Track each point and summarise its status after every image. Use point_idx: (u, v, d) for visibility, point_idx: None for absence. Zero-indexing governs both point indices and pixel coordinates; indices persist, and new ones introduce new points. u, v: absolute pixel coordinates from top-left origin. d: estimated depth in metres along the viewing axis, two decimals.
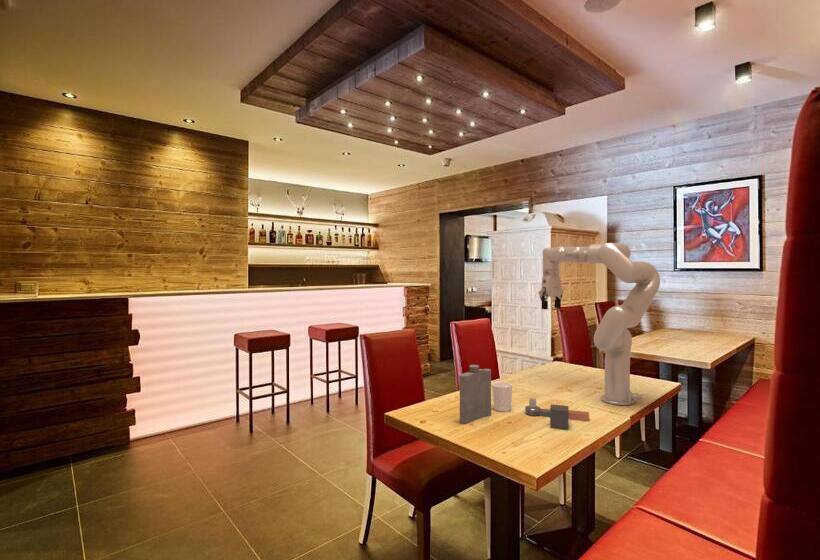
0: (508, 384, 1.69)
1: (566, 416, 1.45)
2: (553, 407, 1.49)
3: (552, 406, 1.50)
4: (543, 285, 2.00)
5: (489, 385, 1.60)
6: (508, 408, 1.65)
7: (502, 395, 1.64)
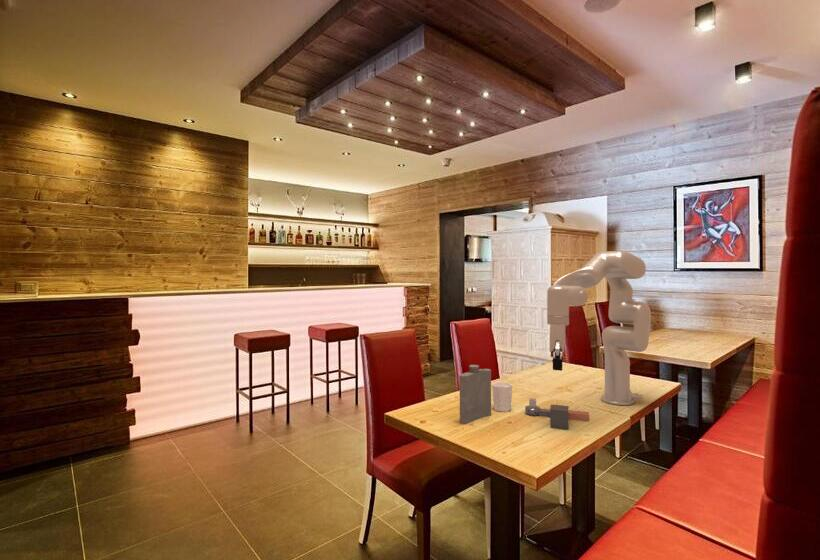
0: (508, 384, 1.69)
1: (566, 416, 1.45)
2: (553, 407, 1.49)
3: (552, 406, 1.50)
4: None
5: (489, 385, 1.60)
6: (508, 408, 1.65)
7: (502, 395, 1.64)
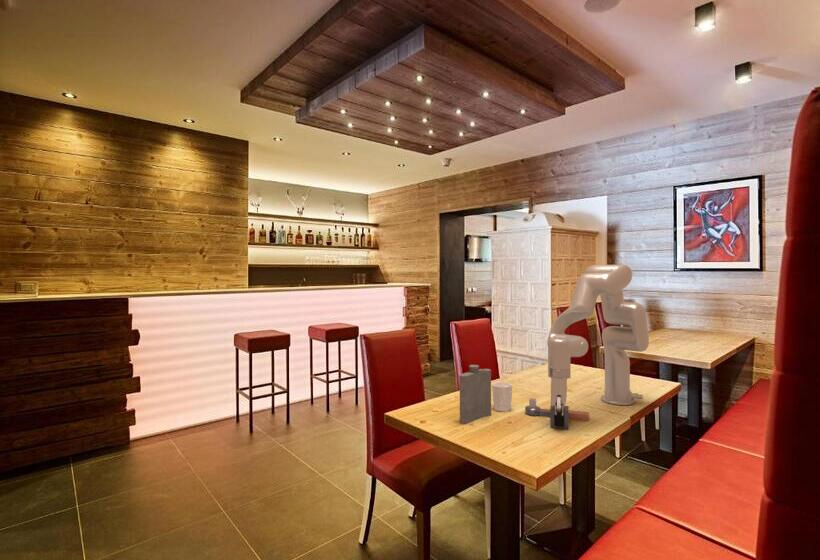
0: (508, 384, 1.69)
1: (566, 416, 1.45)
2: (553, 407, 1.49)
3: (552, 406, 1.50)
4: None
5: (489, 385, 1.60)
6: (508, 408, 1.65)
7: (502, 395, 1.64)
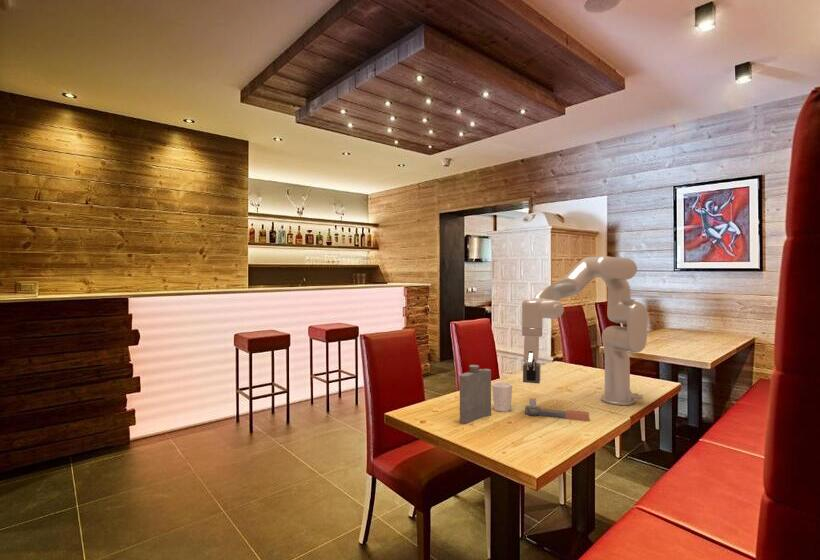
0: (508, 384, 1.69)
1: (537, 371, 1.57)
2: (526, 364, 1.62)
3: (525, 363, 1.63)
4: None
5: (489, 385, 1.60)
6: (508, 408, 1.65)
7: (502, 395, 1.64)
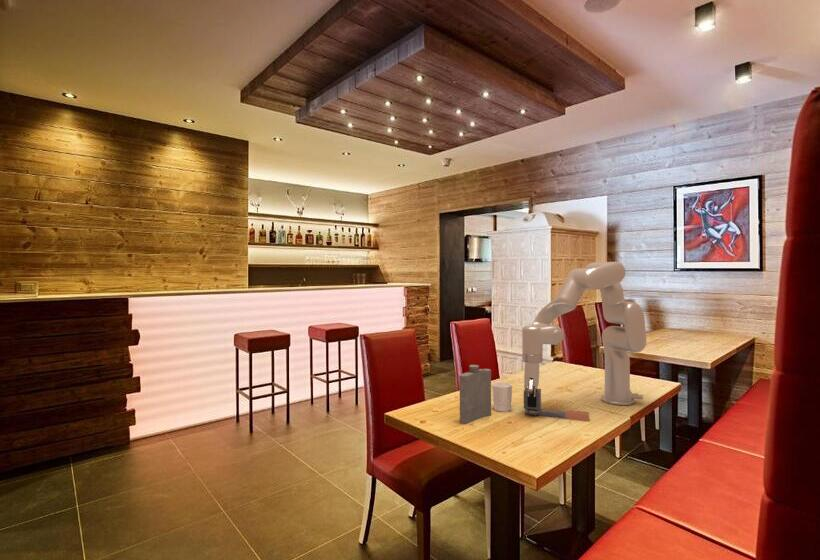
0: (508, 384, 1.69)
1: (538, 397, 1.58)
2: (526, 389, 1.62)
3: (526, 389, 1.63)
4: None
5: (489, 385, 1.60)
6: (508, 408, 1.65)
7: (502, 395, 1.64)
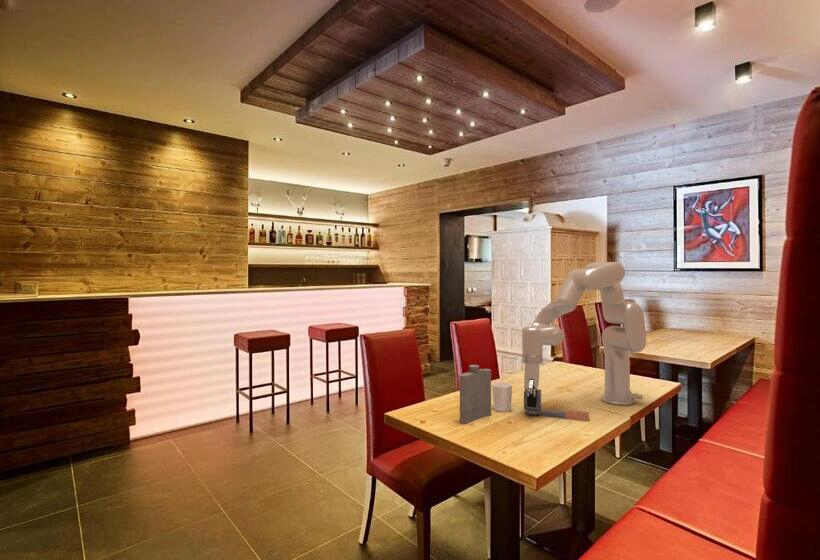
0: (508, 384, 1.69)
1: (538, 398, 1.58)
2: (526, 390, 1.62)
3: (526, 389, 1.63)
4: None
5: (489, 385, 1.60)
6: (508, 408, 1.65)
7: (502, 395, 1.64)
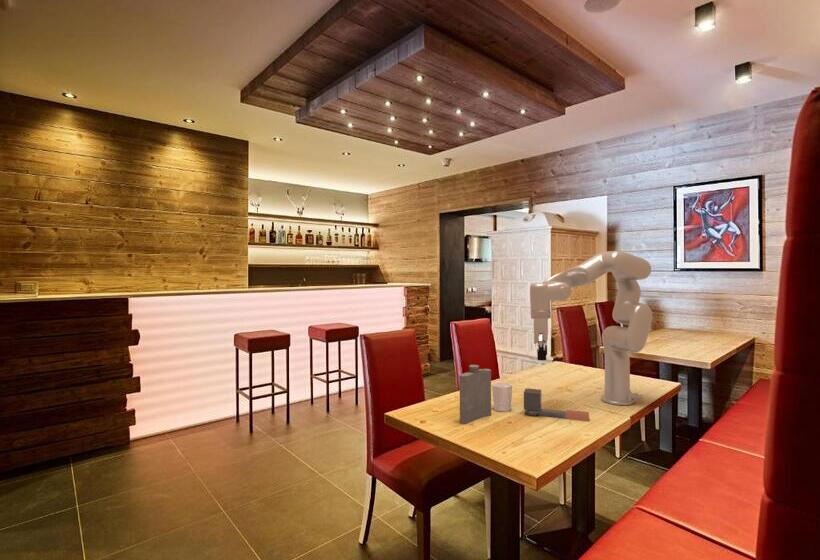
0: (508, 384, 1.69)
1: (538, 398, 1.58)
2: (526, 390, 1.62)
3: (526, 389, 1.63)
4: None
5: (489, 385, 1.60)
6: (508, 408, 1.65)
7: (502, 395, 1.64)
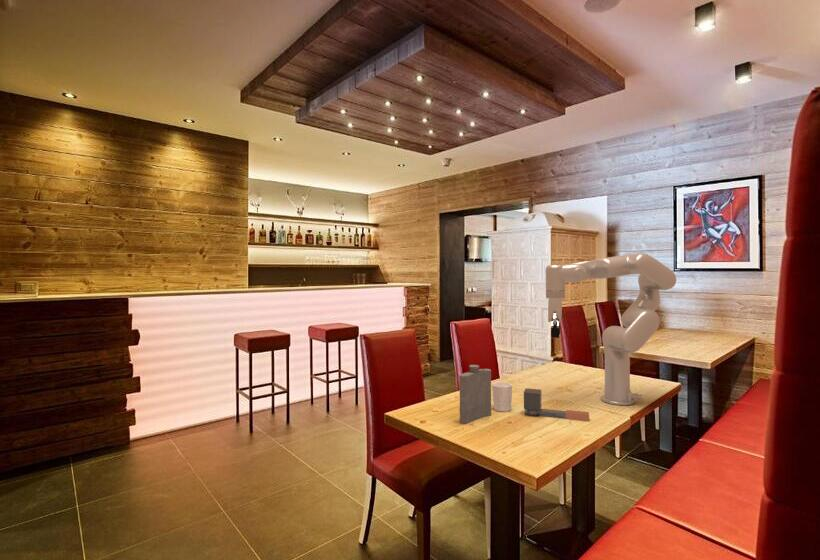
0: (508, 384, 1.69)
1: (538, 398, 1.58)
2: (526, 390, 1.62)
3: (526, 389, 1.63)
4: None
5: (489, 385, 1.60)
6: (508, 408, 1.65)
7: (502, 395, 1.64)
